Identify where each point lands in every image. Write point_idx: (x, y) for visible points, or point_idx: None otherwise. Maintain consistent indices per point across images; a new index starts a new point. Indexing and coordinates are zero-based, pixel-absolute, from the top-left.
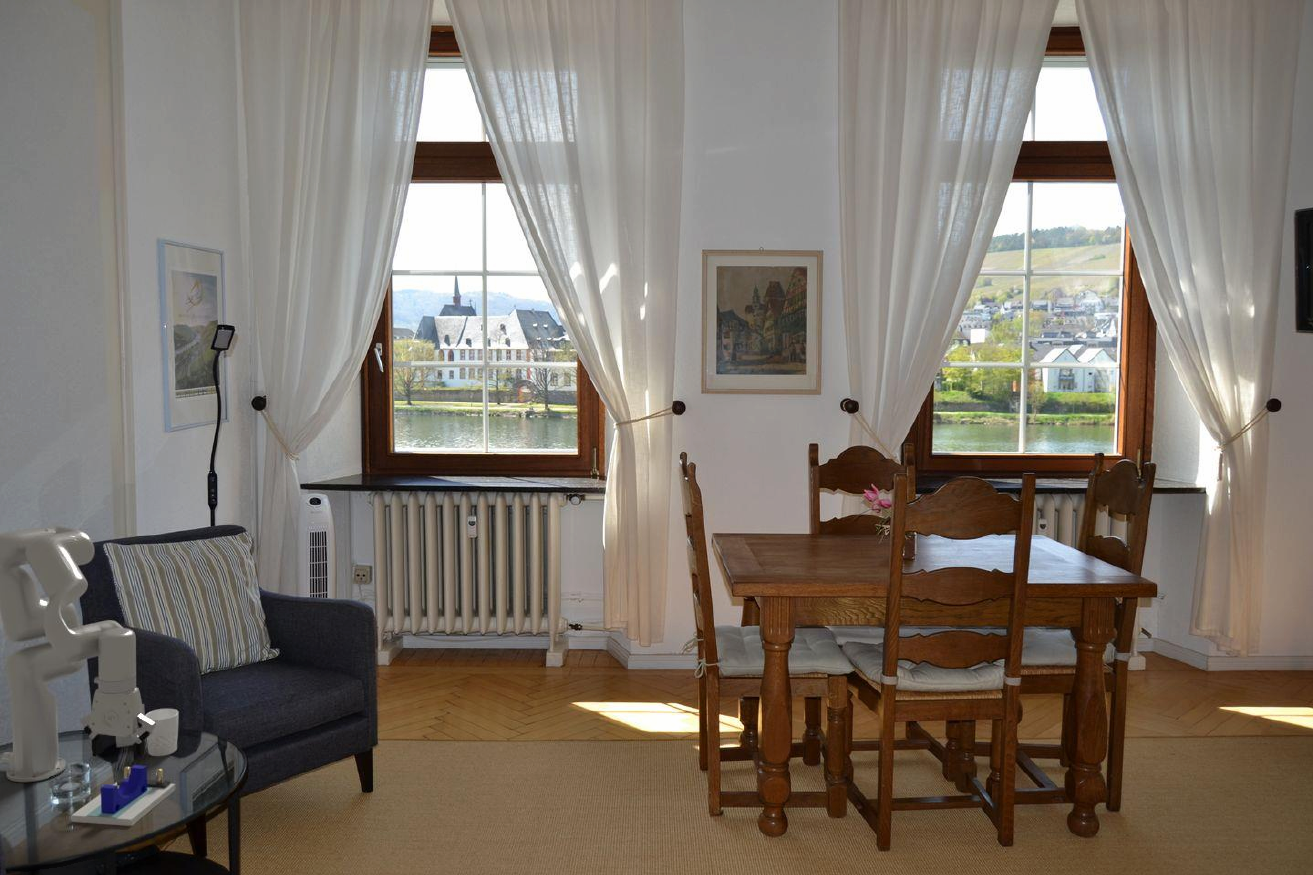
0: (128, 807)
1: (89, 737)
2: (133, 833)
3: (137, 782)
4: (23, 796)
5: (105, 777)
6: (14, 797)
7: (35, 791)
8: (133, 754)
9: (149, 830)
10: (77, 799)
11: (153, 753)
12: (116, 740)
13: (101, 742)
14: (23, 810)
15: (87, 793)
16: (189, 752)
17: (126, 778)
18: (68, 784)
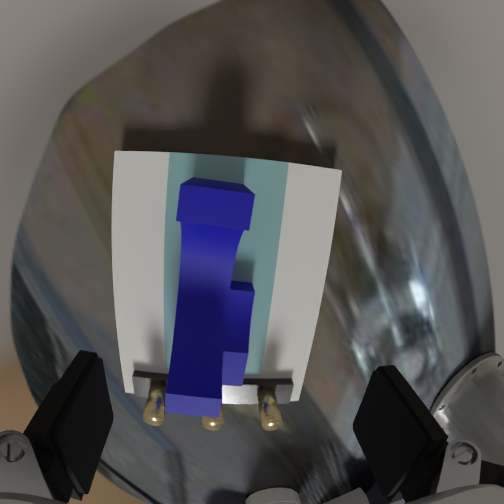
0: (167, 233)
1: (470, 445)
2: (96, 106)
3: (182, 348)
4: (477, 304)
5: (345, 414)
6: (488, 297)
7: (463, 329)
8: (87, 377)
9: (60, 132)
10: (374, 310)
11: (280, 491)
12: (364, 496)
13: (379, 457)
14: (465, 238)
15: (360, 343)
16: (215, 500)
17: (266, 395)
18: (413, 371)
